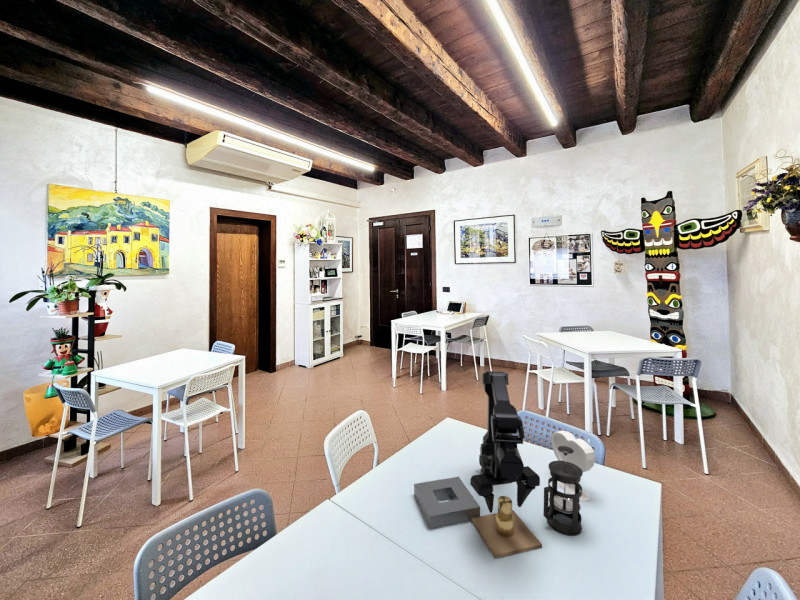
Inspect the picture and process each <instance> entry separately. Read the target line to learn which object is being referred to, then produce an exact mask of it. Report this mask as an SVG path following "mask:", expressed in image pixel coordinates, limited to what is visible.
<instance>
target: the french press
mask: <svg viewBox="0 0 800 600" xmlns="http://www.w3.org/2000/svg"><path fill="white" fill-rule="evenodd" d="M558 450H559V451H560V452H563V453H564V455H565V461H558V460H553V461H550V462H549V463H548V467H547V468H548V470H549V474H550V475H549V476H550V477H549V478H548V481H547V486H545V487H543V513H542V514H543V517H544V518H545V519H546V523H547V525H548V526H549V527H550V528H551V529H552V530H554V531H555V532H556V533H558V534H561V535H565V536H568V537H574V536H578V535H580V534H581V533H582V531H583V525H582V515H581V513H580V511H581V508H582V507H581V504H580V502H581V500H580V497H581V496H582V491H583V487H582V485H581V484H580V483H581V480H582V476H583V473H584V472H582V470H581V469H580V468H579V467H578V466H577V465H575V464H573V463H570V462H566V456H567V454H571V453H573V452H574V450H573V449H572V448H570V447H567V446H559V447H558ZM557 481H559V482H562V483H564V488H563V492H561V491H559V490H558V483H557ZM566 484H574V485H575V494H570V493H566V490H565V489H566ZM580 490H581V492H580ZM555 516H565V517H568V518H569V519H571V522H572V523H569V522H568V523H566V522H563V521H560V520H558V519H557V518H555Z"/></svg>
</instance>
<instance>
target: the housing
mask: <svg viewBox="0 0 800 600" xmlns="http://www.w3.org/2000/svg"><path fill="white" fill-rule="evenodd" d="M413 496H414V498H415V500H416V503H417V505H418V507H419V510H420V512H421V513H422V515H423V518H424V520H425V522H426V524H427V527H428V529H429V530H433V529H434V530H435V529H439V528H443V527H444V528H445V527H449V526H454V525H458V524H463V523H464V524H465V523H470V522H471V518H474V517H479V516H481V506H480V504H479V503H478V502H477V500H476V499H475V498H474V496H473V495H472V493H471V492H470V490H469V489H468V488H467V486H466V485H465V483H464V482H463V481H462V479H461V477H460V476H454V477H448V478H441V479H437V480H436V479H435V480H429V481H425V482H424V481H423V482H417V483H414V484H413ZM446 500H448V501H446ZM441 501H443V502H441Z"/></svg>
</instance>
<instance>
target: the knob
mask: <svg viewBox="0 0 800 600" xmlns="http://www.w3.org/2000/svg"><path fill="white" fill-rule="evenodd" d="M512 510H513V500H512V498H511V497H509V496H507V495H500V496H498V498H497V512H496V532H497V533H498V534H499V535H501V536H503V537H511V536H513V534H514V516H513V515H512Z"/></svg>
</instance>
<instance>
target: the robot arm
mask: <svg viewBox="0 0 800 600" xmlns="http://www.w3.org/2000/svg"><path fill="white" fill-rule="evenodd" d="M509 384H510V383H509V374H508V373H506V372H504V371H500V370H499V371H495V370H494V371H493V370H490V371H489V370H485V372H483V373H482V374H481V385H483V389H484V392H485V394H486V395H487V423H486V424H487V428H486V429H487V431H486V433H484V435H483V436H482V443H480V447H479V452H480V453H479V456H478V457H479V458H478V459H479V460H478V462H479V463H478V464H479V466H480V467H481V469H480V472H481V473H480V474H473V475H471V477H470V480H469V481H470V483H469V484H470V486H471V487H472V488H473V490H474V491H475V493H476V495H478V496H479V497H482V498H484V501H485V504H486V506H487V509H488V512H489V513H490V514H493V510H494V500H495V494H494V493H493V492H494V487H500V486H505V485H512V483H516V486H517V487H516V506H518V508H521V507H522V506H523V504H524V503H525V501H526V500H527V498H528V496H529V495H530V494H531V492H533V490H536V487H539V486H540V485H541V478H540V476H539V475H538V474H539V473H538V474H537V473H536V471H534V469H532V468H531V467H530V466H529V465H527V466H524V462H523V460H522V456H521V454H520V452H519V448H518V445H519V444H520V445H524V439H525V430H524V424H523V420H522V418H521V416H519V415H518V411H517V408H516V407H515V406H514V405H513V404H511V401H510V395H509V392H508V387H507V386H509ZM517 433H518V435H516V434H517ZM513 434H515V435H513Z"/></svg>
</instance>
